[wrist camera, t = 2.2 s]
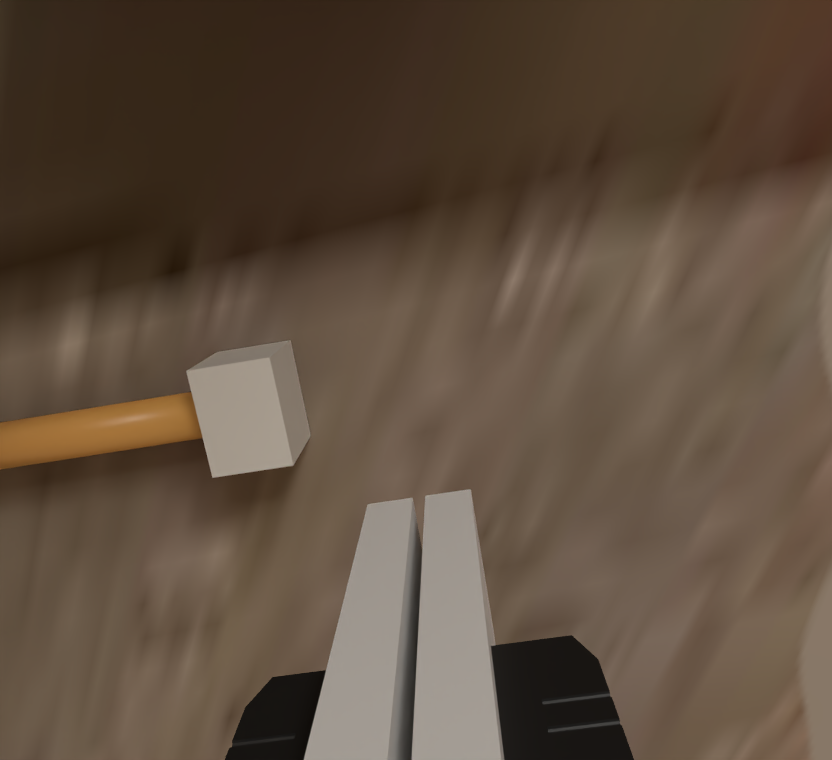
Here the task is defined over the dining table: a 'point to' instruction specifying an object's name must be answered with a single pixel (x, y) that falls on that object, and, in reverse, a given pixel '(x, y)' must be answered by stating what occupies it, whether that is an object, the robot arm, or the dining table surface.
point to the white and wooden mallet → (186, 418)
